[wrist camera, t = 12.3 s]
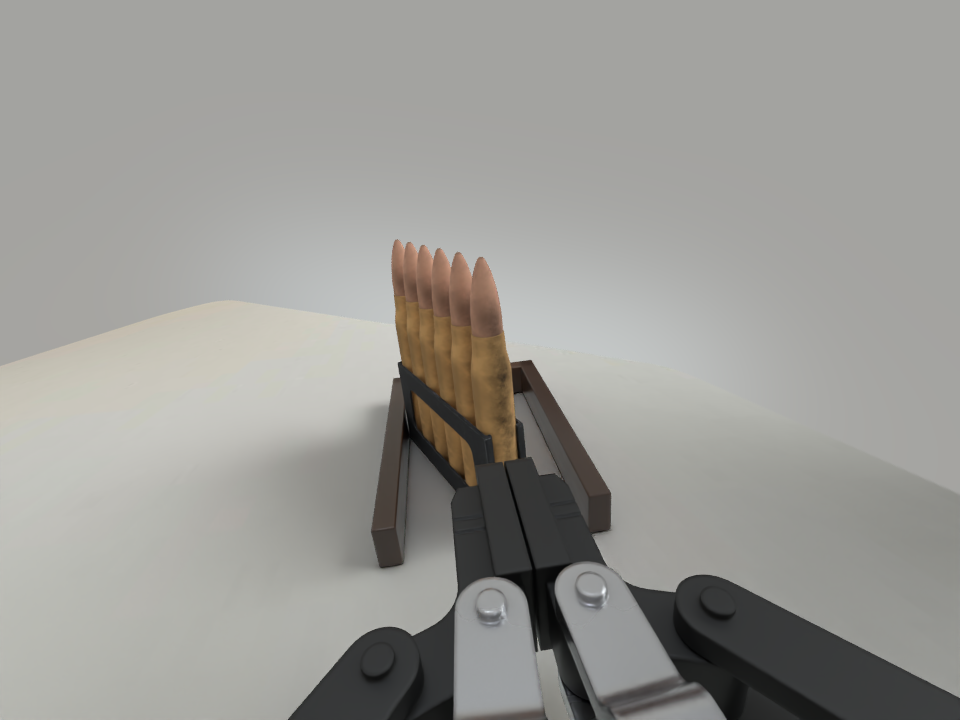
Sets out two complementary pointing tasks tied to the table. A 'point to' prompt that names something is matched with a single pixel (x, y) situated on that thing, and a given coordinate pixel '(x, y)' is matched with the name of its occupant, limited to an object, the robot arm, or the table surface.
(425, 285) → the ammunition clip
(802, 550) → the table surface
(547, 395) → the frame
